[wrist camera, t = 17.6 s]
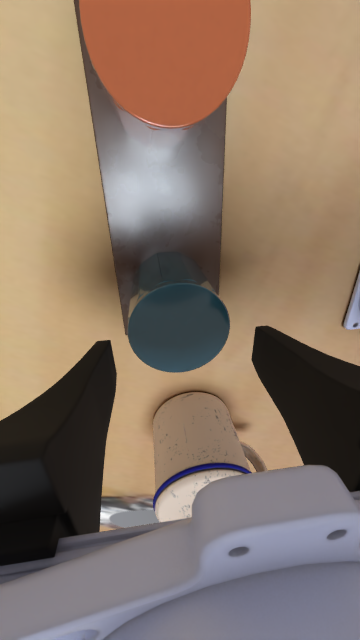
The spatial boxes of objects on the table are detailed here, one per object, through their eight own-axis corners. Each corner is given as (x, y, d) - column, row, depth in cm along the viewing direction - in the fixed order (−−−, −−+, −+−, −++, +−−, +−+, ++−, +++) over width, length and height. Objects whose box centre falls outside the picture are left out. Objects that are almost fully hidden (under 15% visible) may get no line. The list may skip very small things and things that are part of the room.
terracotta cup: (208, 19, 14) (260, -115, 8) (206, 148, 16) (244, 127, 10) (98, 17, 13) (58, -130, 7) (115, 150, 16) (96, 129, 10)
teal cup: (205, 248, 19) (233, 279, 13) (204, 316, 22) (227, 367, 16) (128, 253, 19) (120, 287, 13) (136, 322, 21) (133, 377, 15)
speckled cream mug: (140, 439, 30) (139, 572, 20) (166, 381, 26) (180, 506, 16) (231, 452, 33) (270, 571, 23) (265, 401, 30) (329, 516, 19)
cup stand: (225, 3, 14) (277, -113, 9) (214, 320, 24) (236, 363, 18) (76, -1, 14) (29, -131, 8) (126, 328, 23) (120, 375, 17)
